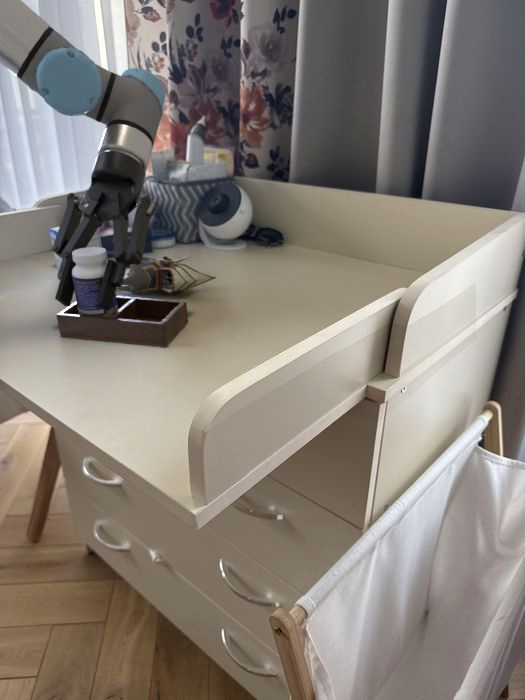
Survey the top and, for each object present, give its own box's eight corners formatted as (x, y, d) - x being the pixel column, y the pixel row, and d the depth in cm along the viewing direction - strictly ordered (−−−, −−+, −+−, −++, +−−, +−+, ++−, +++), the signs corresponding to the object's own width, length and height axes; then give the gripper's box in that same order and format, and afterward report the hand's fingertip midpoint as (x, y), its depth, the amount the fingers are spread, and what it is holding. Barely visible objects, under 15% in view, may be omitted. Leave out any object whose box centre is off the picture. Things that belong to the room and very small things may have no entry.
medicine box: (94, 263, 109) (87, 220, 105) (105, 268, 106) (98, 224, 102) (57, 272, 104) (48, 228, 100) (67, 278, 101) (58, 232, 97)
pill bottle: (117, 322, 79) (107, 255, 74) (77, 325, 78) (64, 258, 73) (120, 307, 84) (111, 243, 79) (82, 310, 83) (70, 246, 78)
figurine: (148, 240, 104) (230, 248, 99) (150, 271, 107) (230, 280, 102) (85, 266, 87) (180, 277, 82) (89, 302, 89) (182, 315, 84)
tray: (166, 347, 75) (163, 324, 74) (60, 336, 79) (55, 314, 77) (188, 322, 83) (186, 301, 81) (91, 313, 86) (87, 293, 85)
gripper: (187, 181, 84) (154, 320, 78) (79, 177, 88) (39, 309, 82) (170, 149, 77) (133, 298, 71) (54, 147, 81) (8, 288, 75)
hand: (82, 304), depth 76 cm, fingers closed on pill bottle, 6 cm apart
